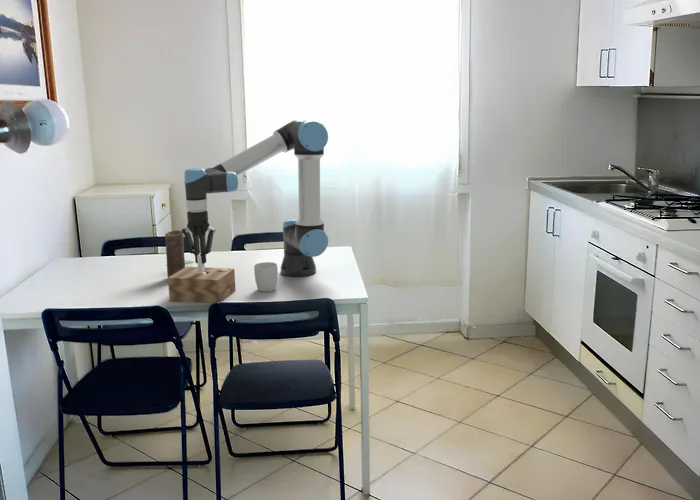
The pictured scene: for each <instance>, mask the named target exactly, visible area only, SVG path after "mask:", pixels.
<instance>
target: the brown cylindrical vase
mask: <svg viewBox="0 0 700 500" xmlns="http://www.w3.org/2000/svg"><path fill="white" fill-rule="evenodd" d="M164 237H165V251H166V253H165V254H166V269H167V271H166V272H167V273H166V274H167V278H168V277H170V276H172V275H174V274H175V273H177V272H179V271H180V270H182V269H184V268H185V267H186V261H185V260H186V259H185V244H184V234H183V232H182V230H178V229H176V230H170V231H167V232H166V233H165V236H164Z"/></svg>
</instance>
